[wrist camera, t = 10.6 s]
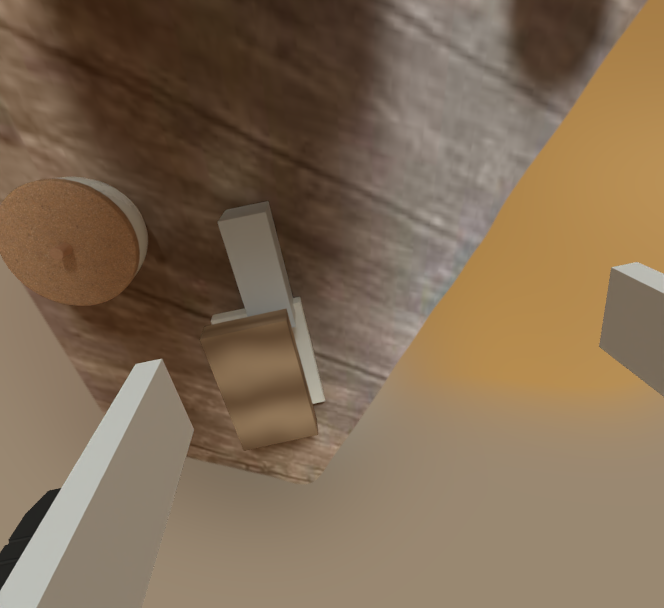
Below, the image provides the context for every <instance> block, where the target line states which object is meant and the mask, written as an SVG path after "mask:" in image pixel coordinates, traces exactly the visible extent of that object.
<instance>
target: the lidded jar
mask: <svg viewBox="0 0 664 608" xmlns="http://www.w3.org/2000/svg"><path fill="white" fill-rule="evenodd" d="M147 248H148V233H147V228H146V225H145V222H144V220H143V217H142V215H141V213H140V212H139V210H138V209H137V207H136V206H135V205H134V204H133V202H132V201H131V200H130V199H129V198H128V197H126V196H125V195H124V194H123V193H121V192H120V191H118V190H117V189H116V188H114V187H112V186H110V185H108V184H106V183H103V182H100V181H98V180H93V179H89V178H84V177H59V178H52V179H43V180H38V181H34V182H30V183H27V184H24V185H22V186H20V187H18V188H16V189H15V190H14V191H12V192H11V193H10V194H9V195H8V196H7V197H6V198H5V199H4V200H3V201H2V203H1V205H0V254H1V256H2V258H3V260H4V262H5V263H6V265H7V266H8V268H9V269H10V270H11V272H12V273H13V274H14V275H15V276H16V277H17V278H18V279H19V280H20V281H21V282H22V283H23V284H24V285H26V286H27V287H28V288H30V289H31V290H33V291H34V292H36V293H38V294H39V295H41V296H43V297H45V298H48V299H50V300H53V301H56V302H59V303H63V304H67V305H74V306H90V305H97V304H100V303H104V302H106V301H109V300H111V299H113V298H115V297H116V296H118V295H119V294H120V293H121V292H122V291H123V290H124V289H126V288H127V287H128V285H129V284H130V283H131V281H132V280H133V278H134V277H135V275H136V274H137V272H138V271H139V270H140V268H141V266H142V264H143V262H144V259H145V257H146V252H147Z"/></svg>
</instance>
